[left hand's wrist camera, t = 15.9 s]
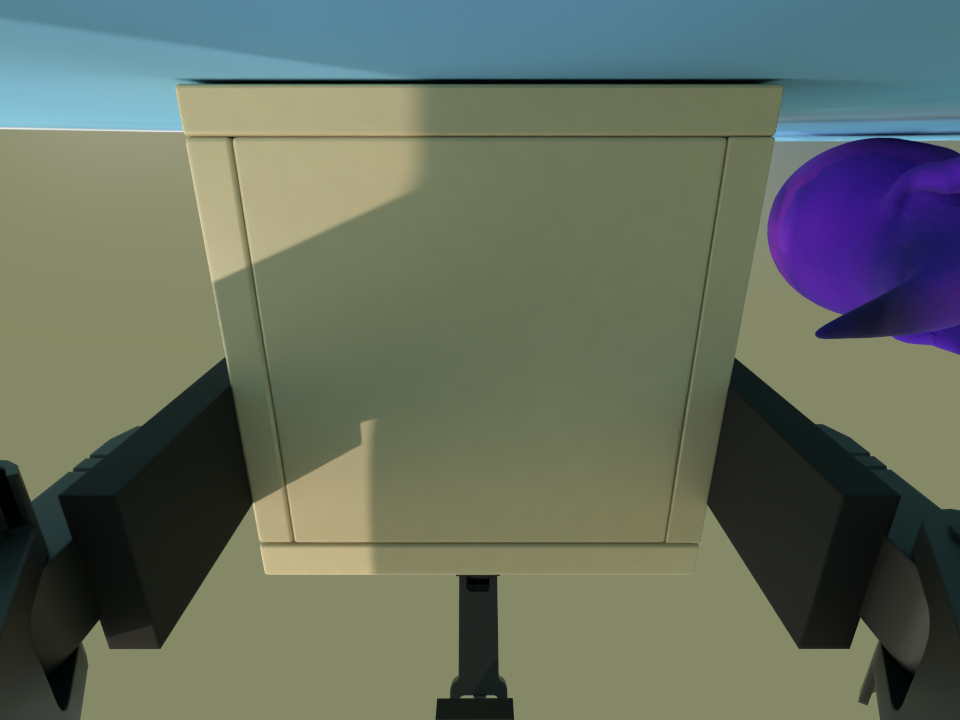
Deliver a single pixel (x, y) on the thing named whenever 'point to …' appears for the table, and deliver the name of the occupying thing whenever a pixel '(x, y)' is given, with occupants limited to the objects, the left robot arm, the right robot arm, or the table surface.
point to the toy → (875, 239)
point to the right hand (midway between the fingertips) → (476, 567)
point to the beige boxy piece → (479, 558)
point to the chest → (480, 300)
